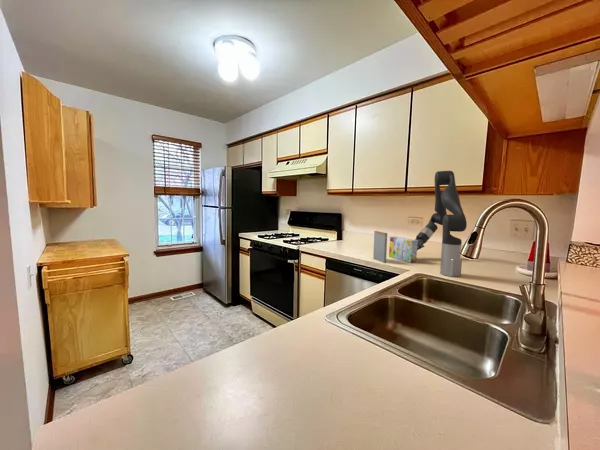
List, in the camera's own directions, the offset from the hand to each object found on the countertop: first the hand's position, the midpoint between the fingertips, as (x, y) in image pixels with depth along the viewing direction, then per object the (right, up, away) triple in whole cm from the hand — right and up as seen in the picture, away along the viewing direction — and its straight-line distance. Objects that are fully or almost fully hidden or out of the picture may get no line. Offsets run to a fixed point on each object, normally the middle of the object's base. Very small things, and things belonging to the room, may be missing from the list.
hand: (409, 253), depth 182 cm
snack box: (-5, -5, -1) cm, 7 cm away
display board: (-23, -5, -6) cm, 24 cm away
